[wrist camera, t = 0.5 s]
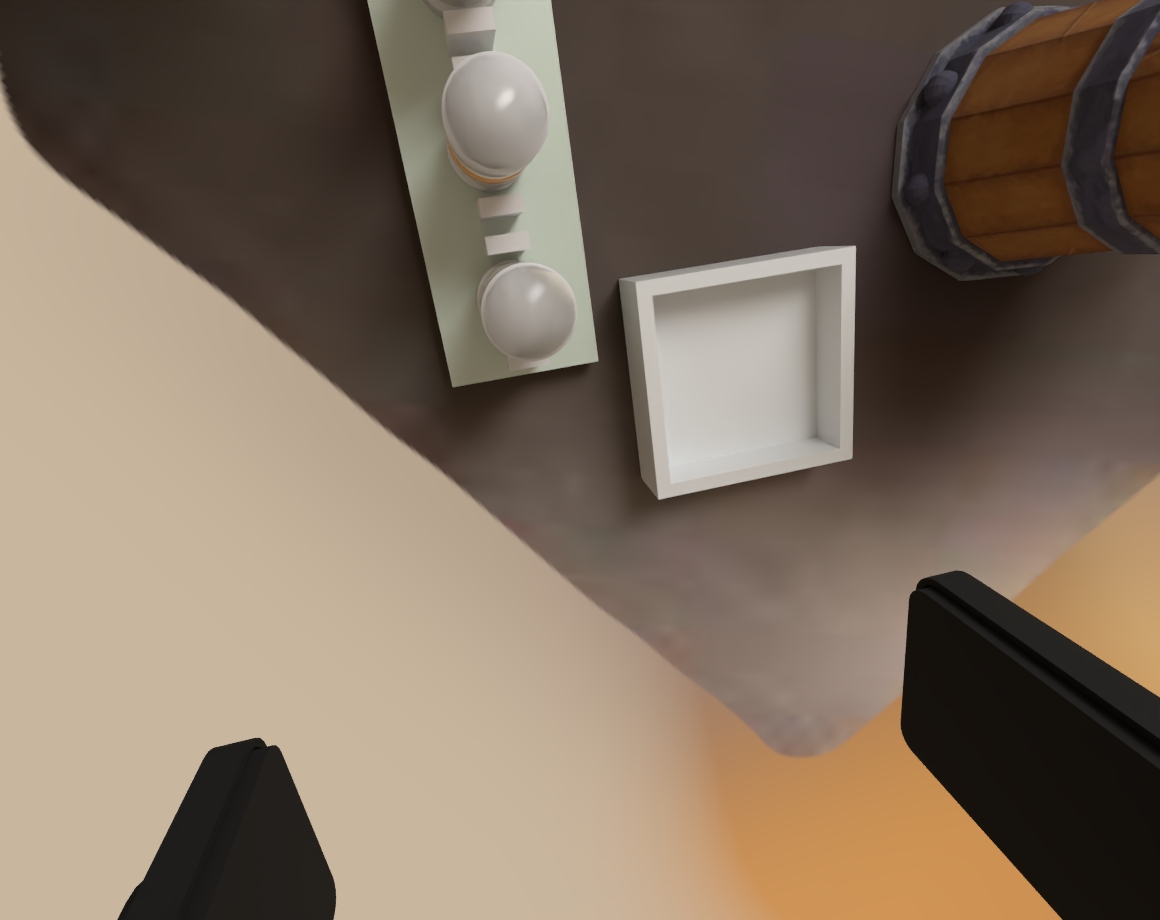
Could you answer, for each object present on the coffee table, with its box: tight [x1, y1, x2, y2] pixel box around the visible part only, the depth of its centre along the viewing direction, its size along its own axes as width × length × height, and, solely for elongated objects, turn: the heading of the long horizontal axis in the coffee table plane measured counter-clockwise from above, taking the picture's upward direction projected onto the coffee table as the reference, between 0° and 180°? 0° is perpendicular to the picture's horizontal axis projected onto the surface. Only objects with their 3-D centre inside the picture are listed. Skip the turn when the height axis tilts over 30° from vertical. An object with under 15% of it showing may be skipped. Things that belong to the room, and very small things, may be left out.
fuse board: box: [367, 0, 598, 387], centre depth 28 cm, size 22×8×4 cm, turn 8°
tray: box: [619, 246, 856, 500], centre depth 35 cm, size 12×12×4 cm
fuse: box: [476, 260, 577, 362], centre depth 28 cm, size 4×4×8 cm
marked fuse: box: [442, 51, 550, 192], centre depth 25 cm, size 4×4×8 cm
